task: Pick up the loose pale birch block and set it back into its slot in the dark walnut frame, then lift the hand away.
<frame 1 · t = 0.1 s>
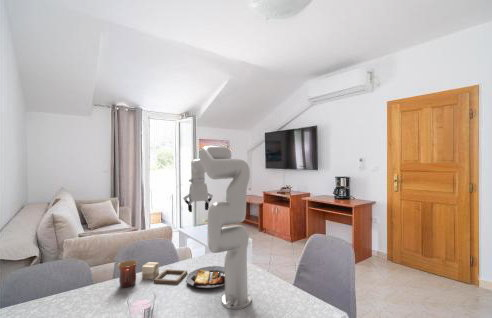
hand: (198, 210, 148), 31 cm above the table, tool pointing down, fingers open, 9 cm apart
walnut frame: (171, 277, 132), on the table
food plate: (211, 280, 129), on the table
mug: (127, 286, 124), on the table
birch block: (150, 276, 135), on the table
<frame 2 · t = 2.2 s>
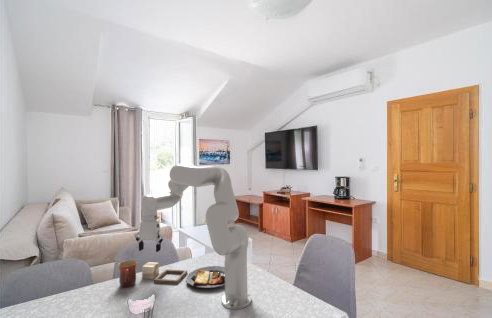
hand: (149, 250, 135), 13 cm above the table, tool pointing down, fingers open, 9 cm apart
nothing on the table moved.
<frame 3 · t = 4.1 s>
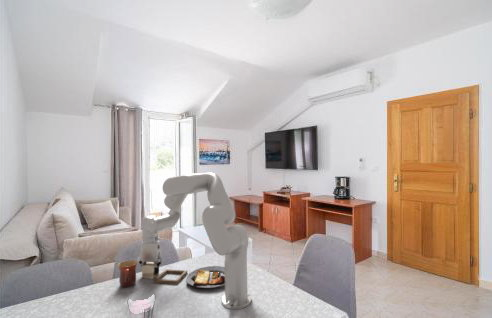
hand: (150, 273, 135), 1 cm above the table, tool pointing down, fingers closed on birch block, 6 cm apart
birch block: (150, 275, 135), on the table, touching gripper
everything else where it was.
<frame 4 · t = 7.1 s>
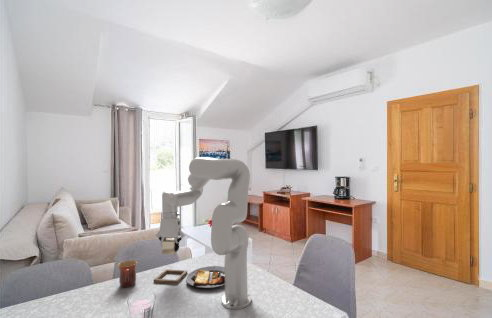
hand: (170, 249, 132), 14 cm above the table, tool pointing down, fingers closed on birch block, 6 cm apart
birch block: (170, 252, 132), point 13 cm above the table, touching gripper
everything else where it was.
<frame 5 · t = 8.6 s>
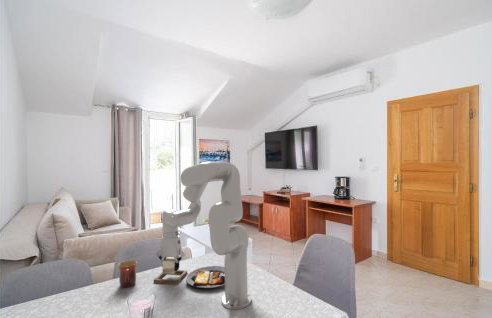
hand: (170, 268, 132), 5 cm above the table, tool pointing down, fingers closed on birch block, 6 cm apart
birch block: (170, 271, 132), point 3 cm above the table, touching gripper
everything else where it was.
when the fingers open (3 cm above the table, at t = 9.9 s): birch block drops 2 cm, resting in walnut frame.
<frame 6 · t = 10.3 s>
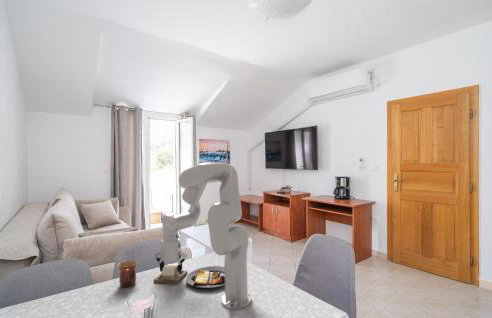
hand: (171, 271, 132), 3 cm above the table, tool pointing down, fingers open, 9 cm apart
birch block: (171, 278, 132), resting in walnut frame
everything else where it was.
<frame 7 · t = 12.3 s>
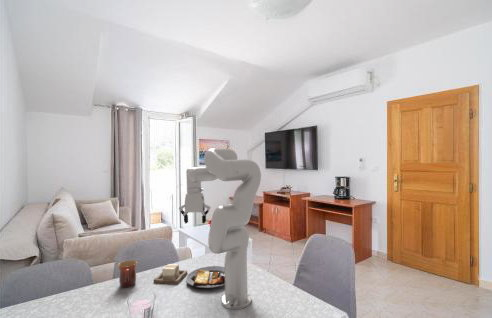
hand: (195, 223, 137), 27 cm above the table, tool pointing down, fingers open, 9 cm apart
nothing on the table moved.
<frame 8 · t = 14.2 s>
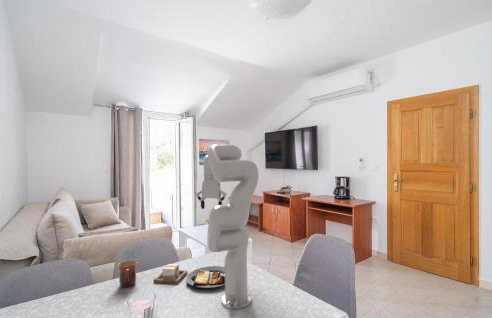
hand: (211, 208, 142), 33 cm above the table, tool pointing down, fingers open, 9 cm apart
nothing on the table moved.
at the end: birch block 0.0 cm off-centre on the walnut frame, point 0.0 cm above the walnut frame's base; birch block tilted 0°; the gripper is holding nothing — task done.
